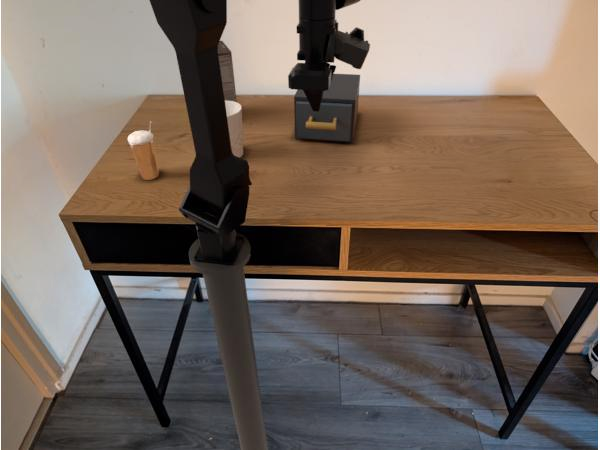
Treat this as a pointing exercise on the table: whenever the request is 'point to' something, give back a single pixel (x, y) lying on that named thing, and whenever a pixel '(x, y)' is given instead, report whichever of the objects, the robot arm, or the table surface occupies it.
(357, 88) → the cabinet
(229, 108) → the white cup
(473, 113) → the table surface
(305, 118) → the drawer
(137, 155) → the milkshake
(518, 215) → the table surface
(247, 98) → the table surface
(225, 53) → the coffee box
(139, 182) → the table surface
